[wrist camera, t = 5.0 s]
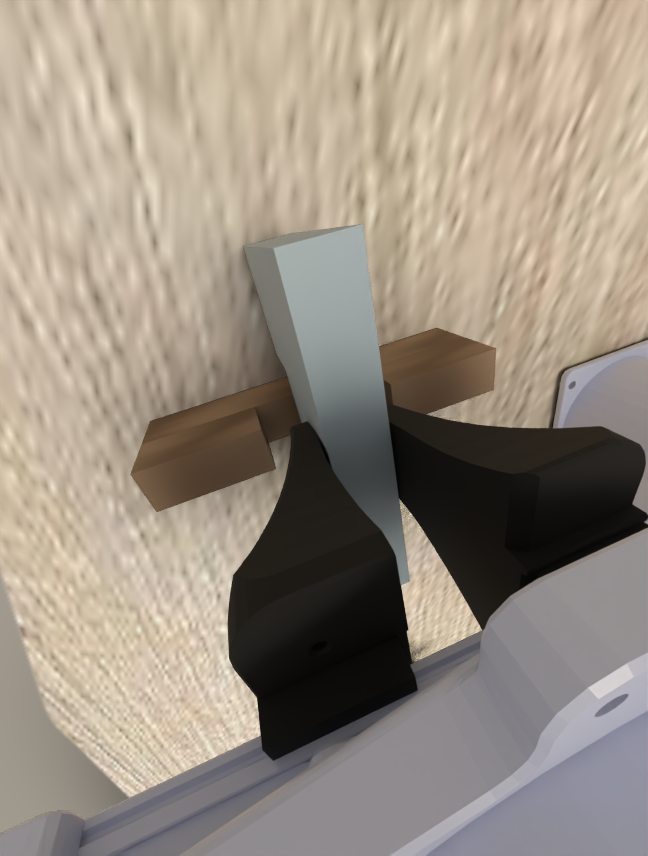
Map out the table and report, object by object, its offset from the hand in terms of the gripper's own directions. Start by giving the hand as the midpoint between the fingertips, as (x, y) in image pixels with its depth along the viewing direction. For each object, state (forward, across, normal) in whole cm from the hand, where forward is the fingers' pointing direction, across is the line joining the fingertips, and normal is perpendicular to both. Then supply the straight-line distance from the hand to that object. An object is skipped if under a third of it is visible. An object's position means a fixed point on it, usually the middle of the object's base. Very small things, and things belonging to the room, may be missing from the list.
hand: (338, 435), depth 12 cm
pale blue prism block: (+4, 0, 0) cm, 4 cm away
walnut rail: (+5, 0, 0) cm, 5 cm away
